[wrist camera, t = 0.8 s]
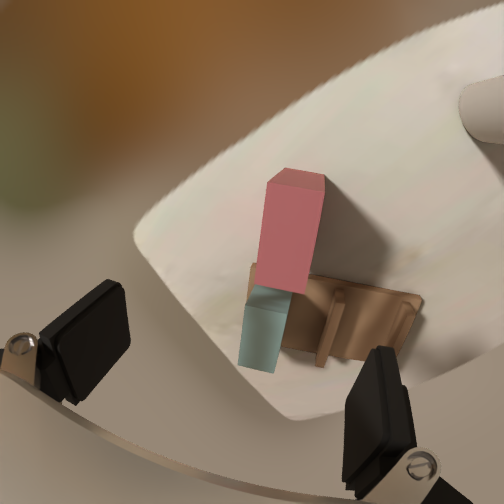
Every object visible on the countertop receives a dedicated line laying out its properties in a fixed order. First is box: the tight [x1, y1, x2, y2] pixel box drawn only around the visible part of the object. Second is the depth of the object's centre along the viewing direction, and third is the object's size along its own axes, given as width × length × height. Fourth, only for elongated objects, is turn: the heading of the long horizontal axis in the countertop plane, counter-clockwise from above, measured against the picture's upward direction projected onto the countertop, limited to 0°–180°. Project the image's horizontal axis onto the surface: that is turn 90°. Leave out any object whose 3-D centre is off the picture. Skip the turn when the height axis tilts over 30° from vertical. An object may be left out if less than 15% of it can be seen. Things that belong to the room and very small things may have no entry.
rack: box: [238, 263, 422, 373], centre depth 31 cm, size 20×10×7 cm, turn 83°
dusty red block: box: [254, 168, 325, 294], centre depth 26 cm, size 4×8×10 cm, turn 173°
